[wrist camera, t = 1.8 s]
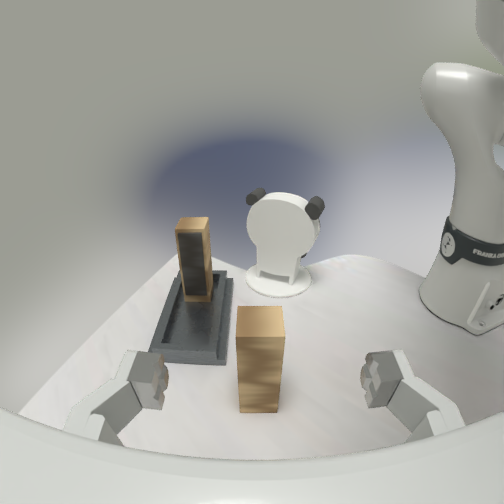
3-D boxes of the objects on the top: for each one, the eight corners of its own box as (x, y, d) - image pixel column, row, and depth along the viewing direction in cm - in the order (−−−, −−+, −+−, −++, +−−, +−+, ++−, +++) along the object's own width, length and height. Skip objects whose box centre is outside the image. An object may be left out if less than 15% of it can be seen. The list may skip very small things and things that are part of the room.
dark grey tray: (233, 283, 52) (232, 270, 51) (225, 365, 36) (224, 351, 35) (175, 282, 52) (173, 270, 51) (148, 360, 36) (144, 347, 35)
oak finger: (275, 381, 34) (281, 303, 28) (277, 412, 30) (285, 336, 24) (241, 382, 34) (237, 303, 28) (240, 412, 30) (235, 336, 24)
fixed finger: (213, 286, 49) (208, 217, 44) (210, 303, 46) (203, 230, 40) (189, 286, 49) (181, 217, 44) (184, 303, 46) (174, 230, 40)
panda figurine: (321, 269, 56) (329, 190, 49) (305, 305, 47) (314, 213, 39) (260, 256, 60) (261, 181, 53) (234, 288, 51) (231, 201, 44)
